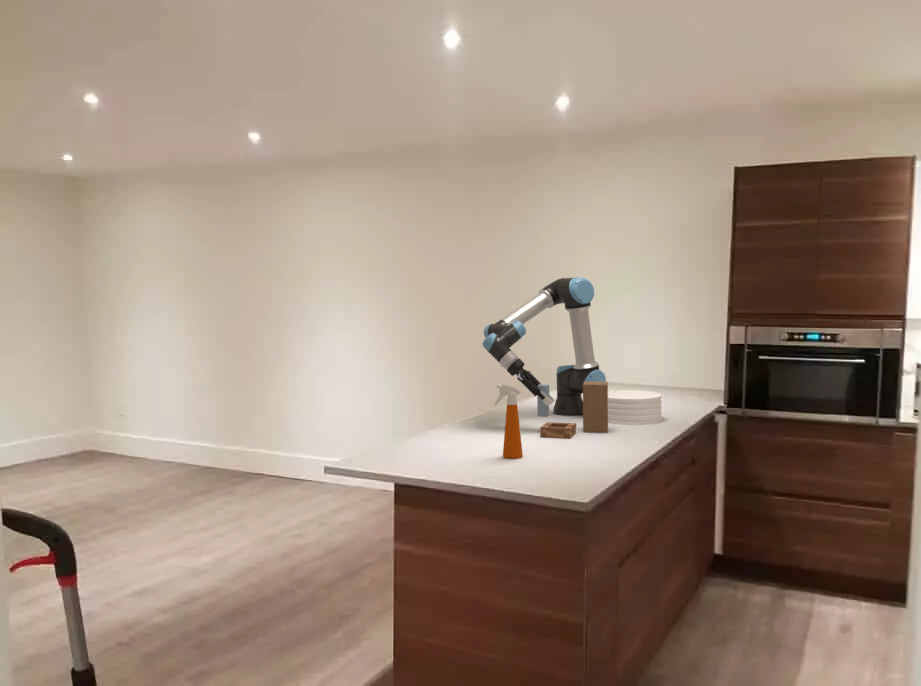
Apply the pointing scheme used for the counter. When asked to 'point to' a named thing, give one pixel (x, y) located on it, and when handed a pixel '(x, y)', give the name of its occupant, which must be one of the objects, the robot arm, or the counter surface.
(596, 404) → the wooden block
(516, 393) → the spray bottle
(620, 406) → the plate stack
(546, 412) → the tall blue pillar
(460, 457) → the counter surface
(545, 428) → the square wooden frame
